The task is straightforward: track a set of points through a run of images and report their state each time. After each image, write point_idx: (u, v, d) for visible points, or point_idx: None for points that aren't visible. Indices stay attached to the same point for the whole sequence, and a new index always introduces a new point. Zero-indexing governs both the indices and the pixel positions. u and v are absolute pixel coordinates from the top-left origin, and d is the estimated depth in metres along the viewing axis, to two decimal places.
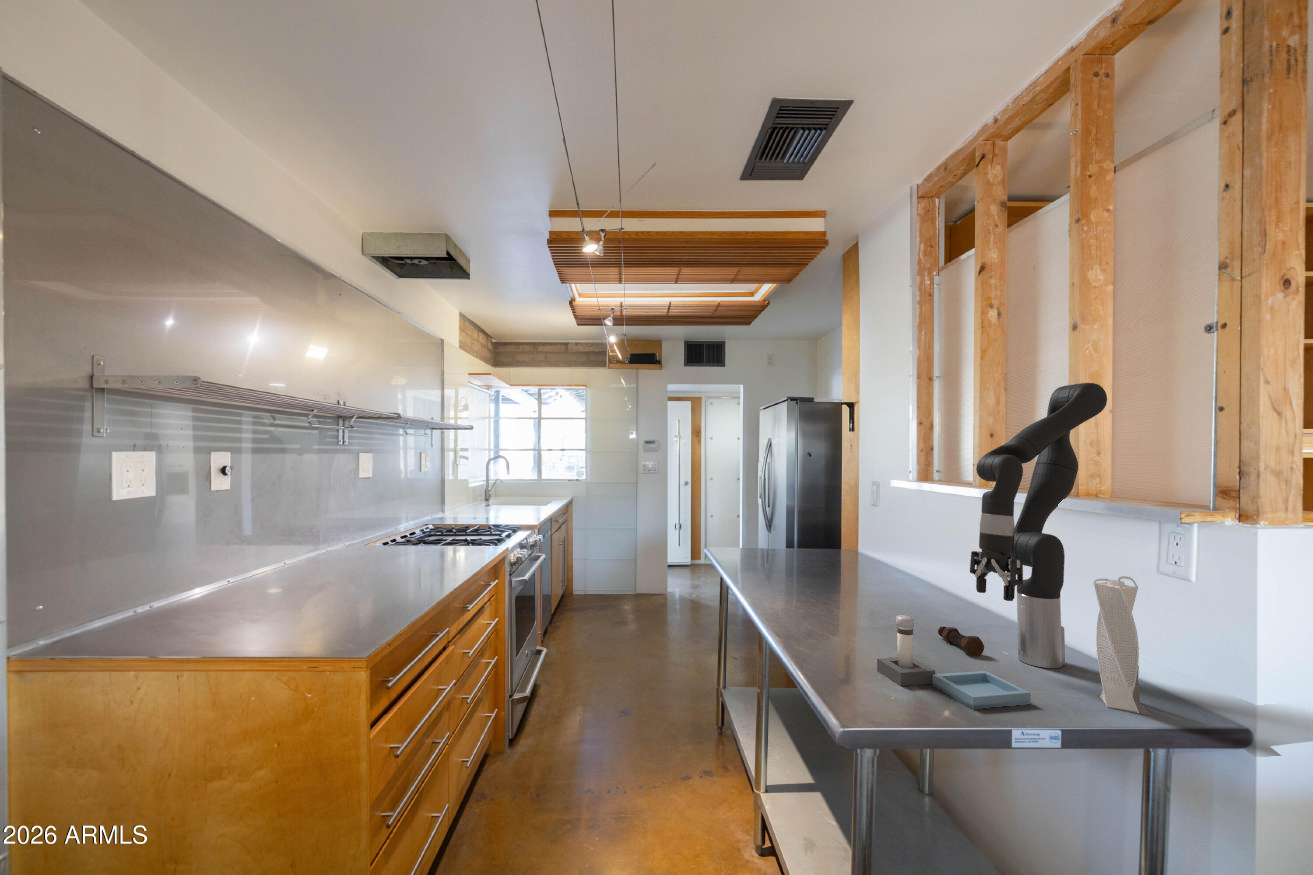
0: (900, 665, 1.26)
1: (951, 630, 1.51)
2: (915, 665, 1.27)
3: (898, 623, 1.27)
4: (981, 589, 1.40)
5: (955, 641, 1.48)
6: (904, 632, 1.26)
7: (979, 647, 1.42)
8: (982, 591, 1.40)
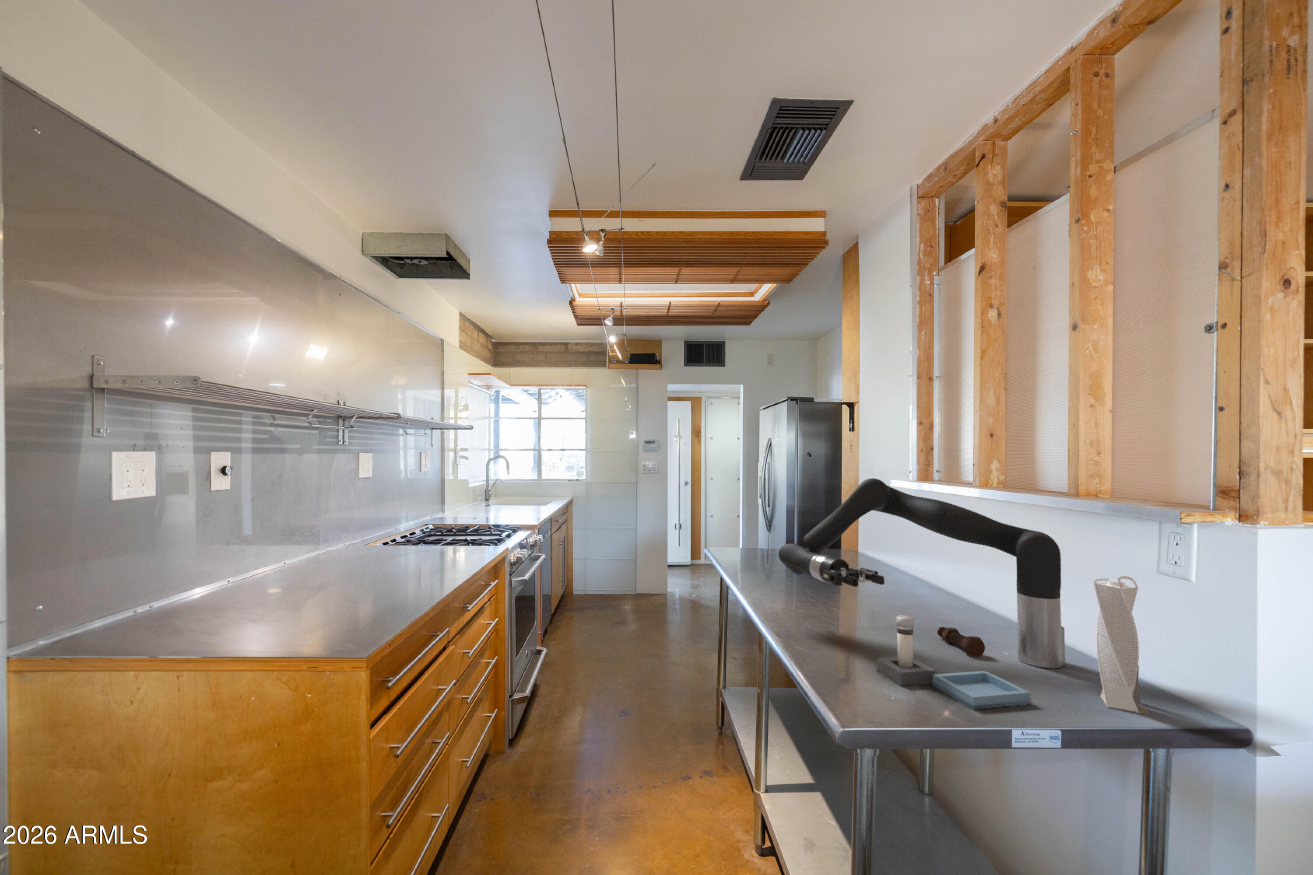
0: (900, 665, 1.26)
1: (951, 630, 1.51)
2: (915, 665, 1.27)
3: (898, 623, 1.27)
4: (879, 581, 1.40)
5: (955, 641, 1.48)
6: (904, 632, 1.26)
7: (980, 648, 1.42)
8: (881, 580, 1.40)
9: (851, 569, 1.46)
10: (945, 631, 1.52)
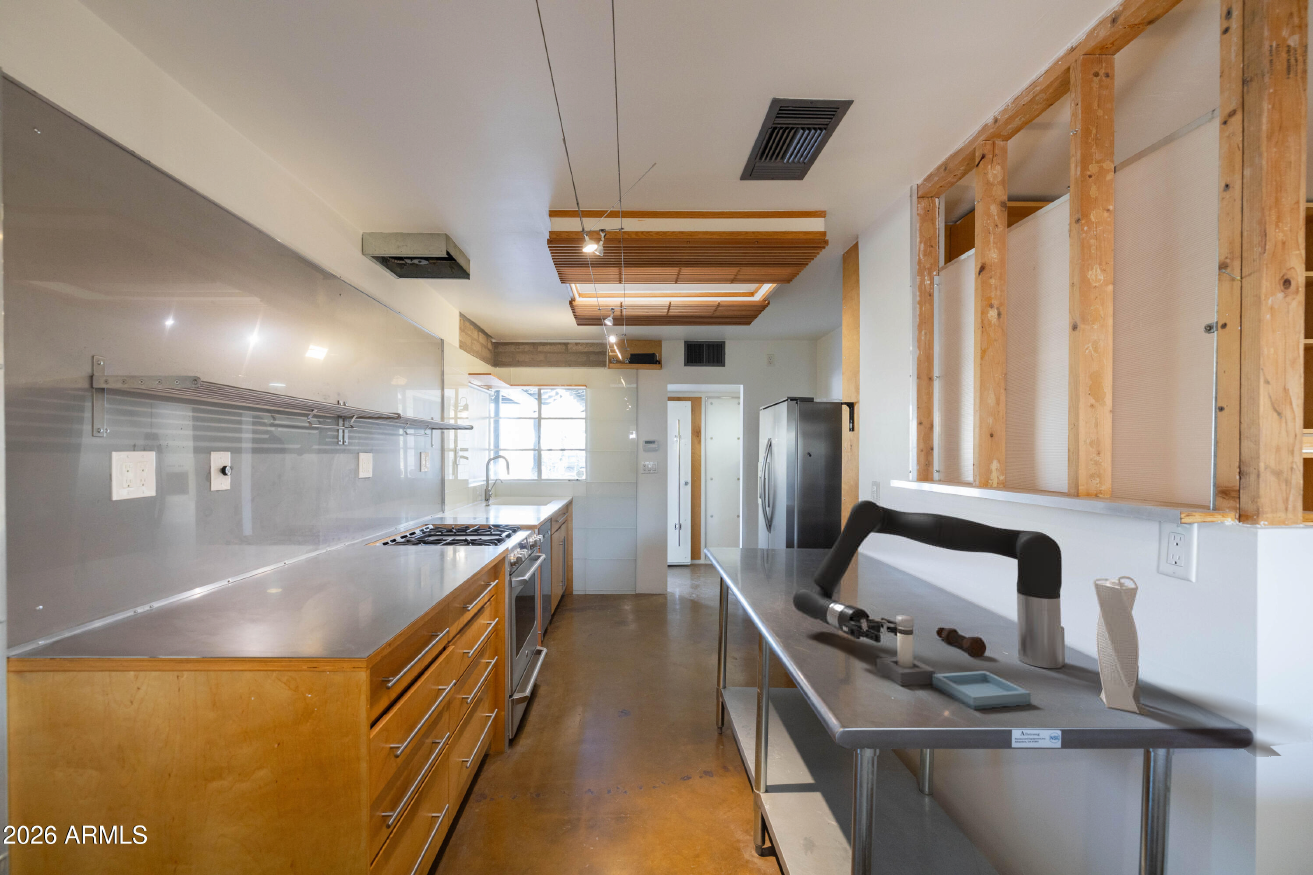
0: (900, 665, 1.26)
1: (951, 631, 1.51)
2: (915, 665, 1.27)
3: (898, 623, 1.27)
4: None
5: (956, 642, 1.47)
6: (904, 632, 1.26)
7: (982, 648, 1.41)
8: None
9: (872, 620, 1.39)
10: (945, 631, 1.51)
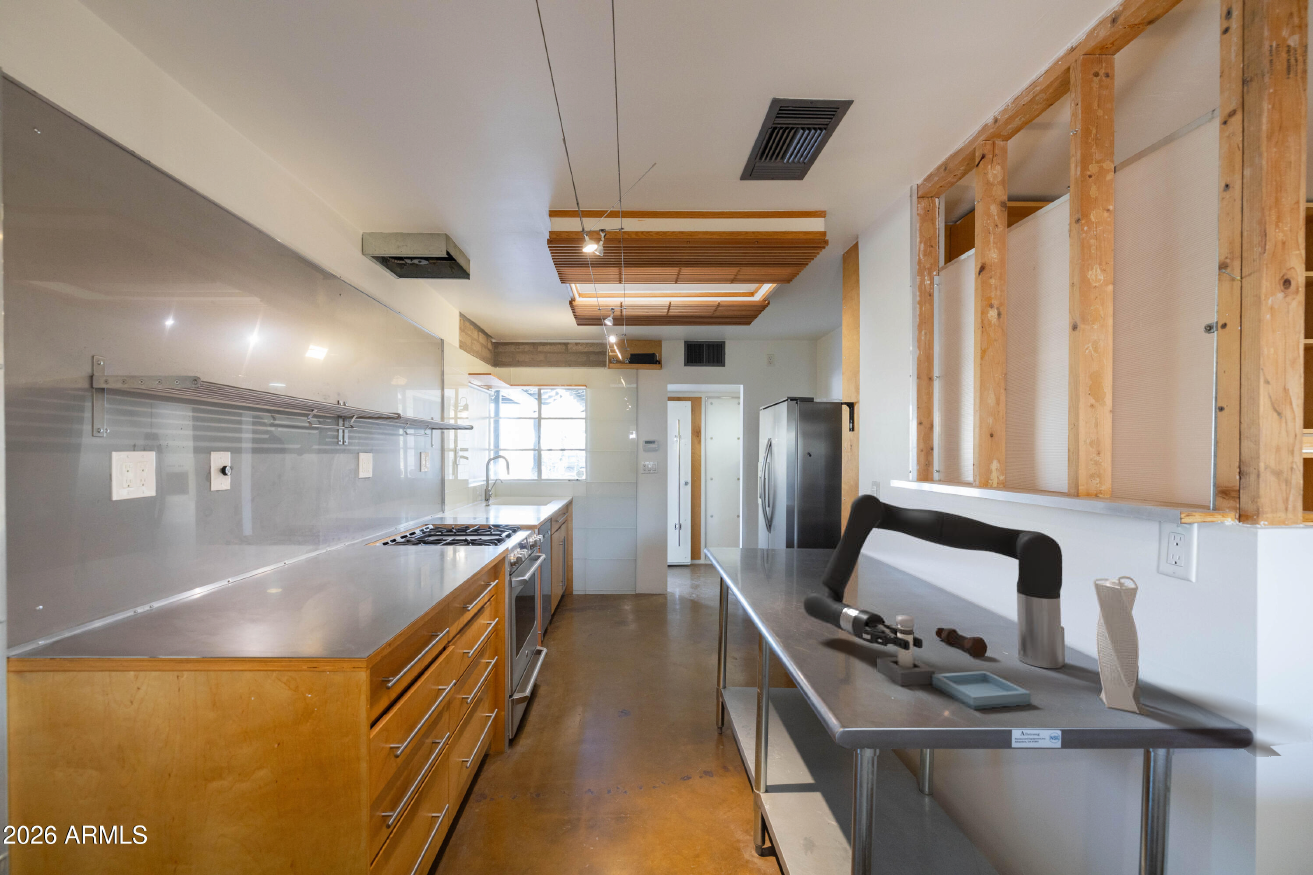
0: (900, 665, 1.26)
1: (951, 631, 1.50)
2: (915, 665, 1.27)
3: (898, 623, 1.27)
4: (917, 644, 1.26)
5: (956, 642, 1.47)
6: (904, 632, 1.26)
7: (983, 648, 1.41)
8: (919, 643, 1.26)
9: (886, 626, 1.34)
10: (945, 632, 1.51)
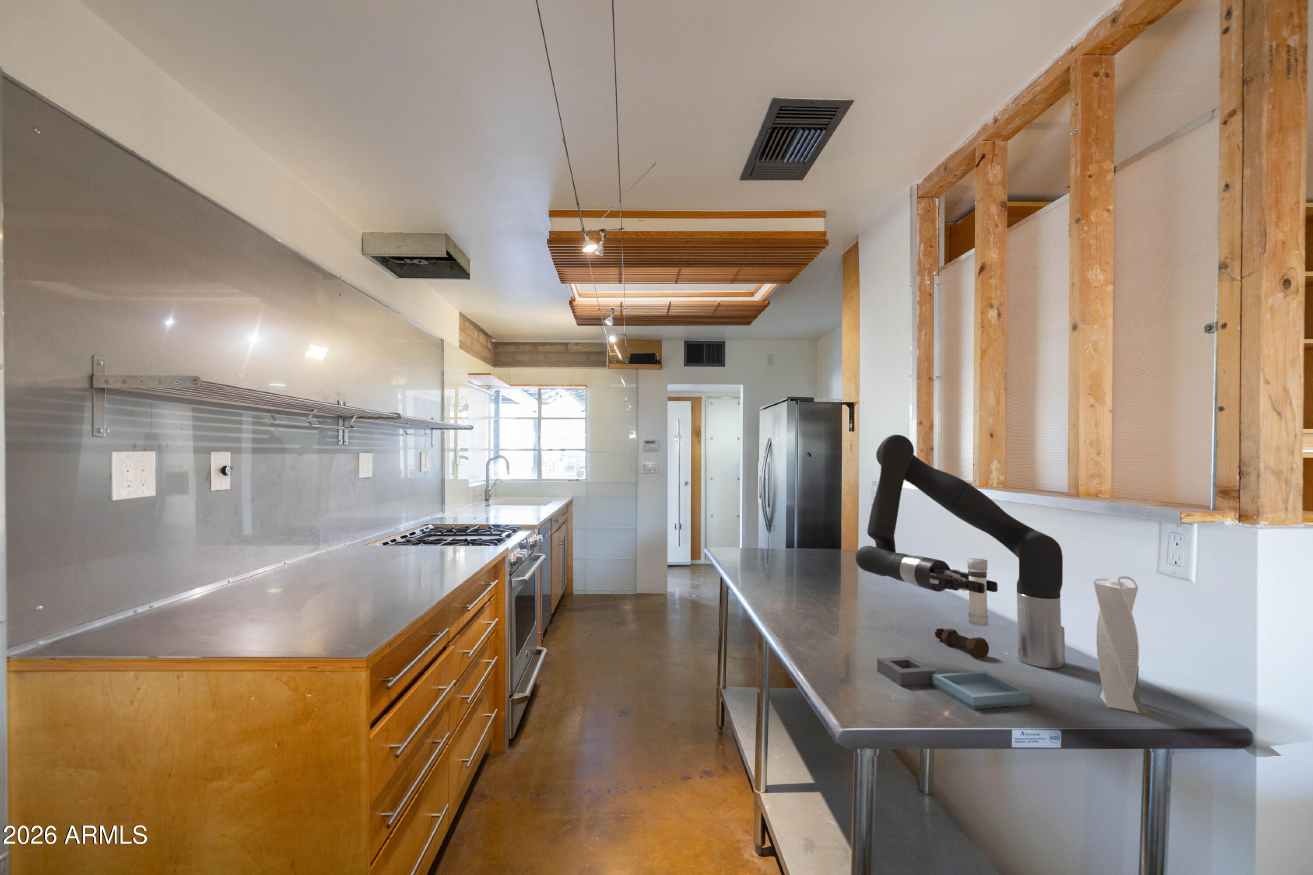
0: (972, 610, 1.18)
1: (951, 632, 1.50)
2: (915, 665, 1.27)
3: (970, 566, 1.18)
4: (991, 587, 1.17)
5: (958, 643, 1.46)
6: (977, 575, 1.17)
7: (985, 649, 1.41)
8: (993, 586, 1.17)
9: (954, 572, 1.25)
10: (945, 633, 1.50)
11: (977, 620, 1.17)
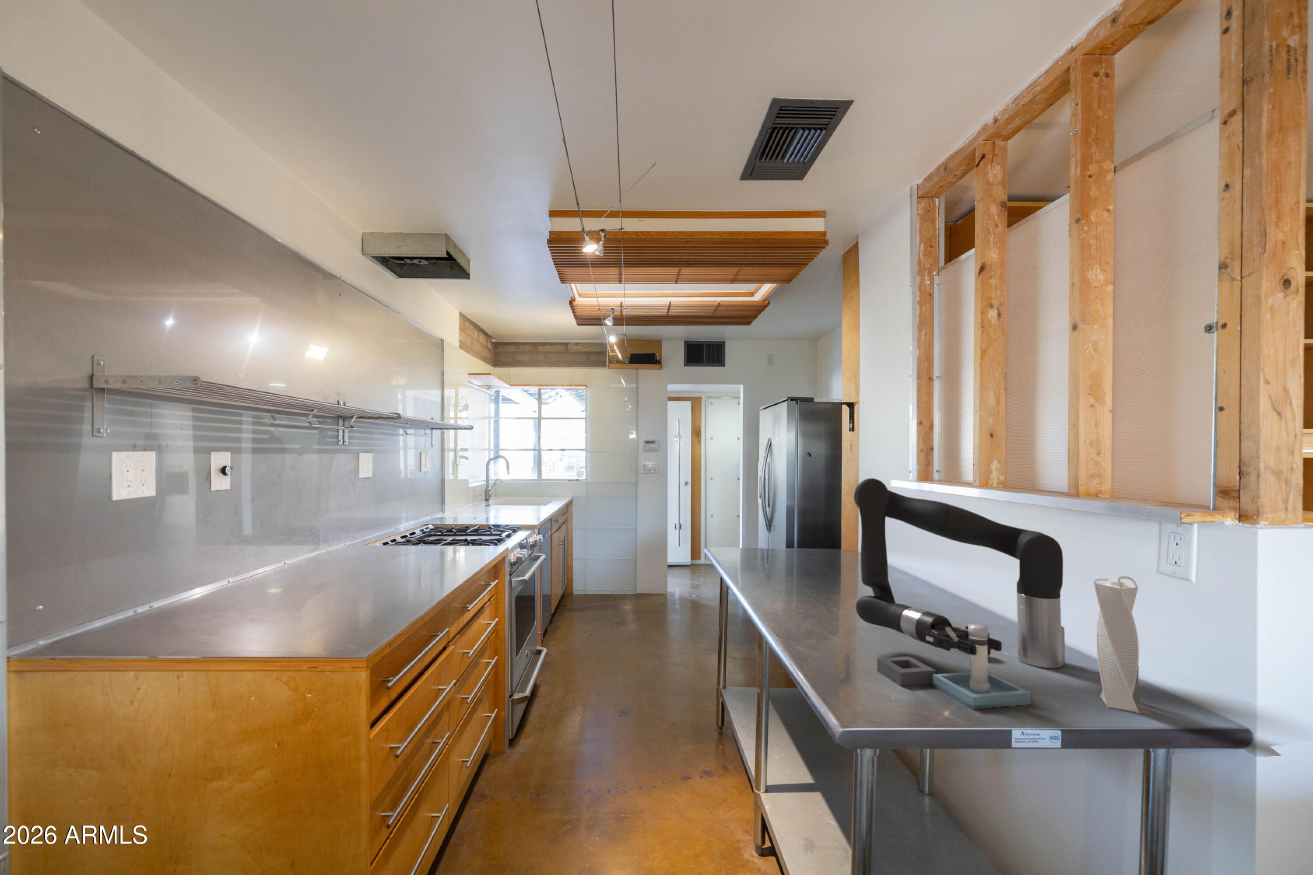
0: (974, 678, 1.17)
1: None
2: (915, 665, 1.27)
3: (971, 633, 1.18)
4: (995, 646, 1.18)
5: None
6: (978, 642, 1.17)
7: None
8: (998, 646, 1.18)
9: (956, 629, 1.25)
10: None
11: (978, 688, 1.16)
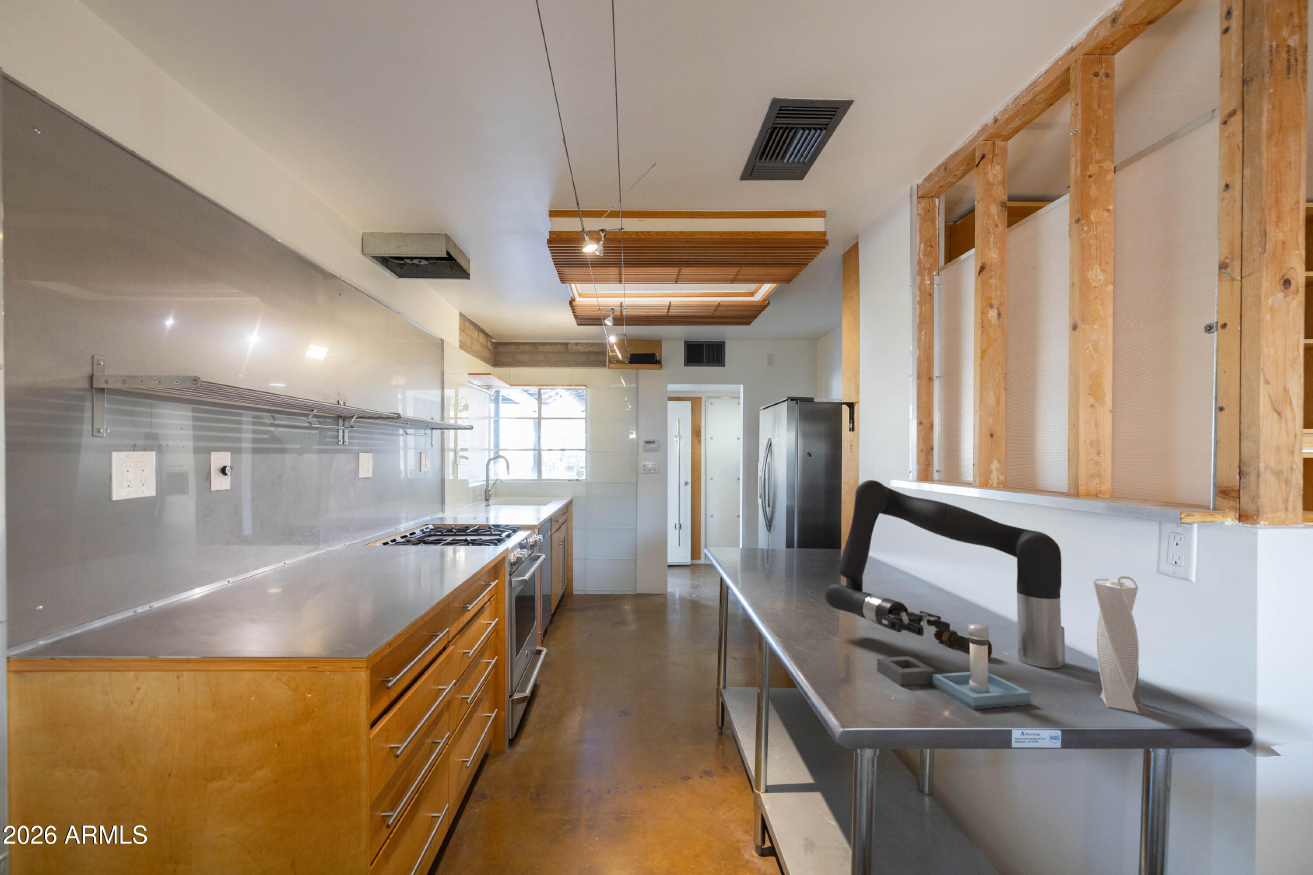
0: (974, 678, 1.17)
1: (952, 633, 1.49)
2: (915, 665, 1.27)
3: (971, 633, 1.18)
4: (945, 628, 1.31)
5: (960, 644, 1.45)
6: (978, 642, 1.17)
7: (989, 649, 1.40)
8: (946, 627, 1.30)
9: (911, 614, 1.37)
10: (946, 634, 1.49)
11: (978, 688, 1.16)
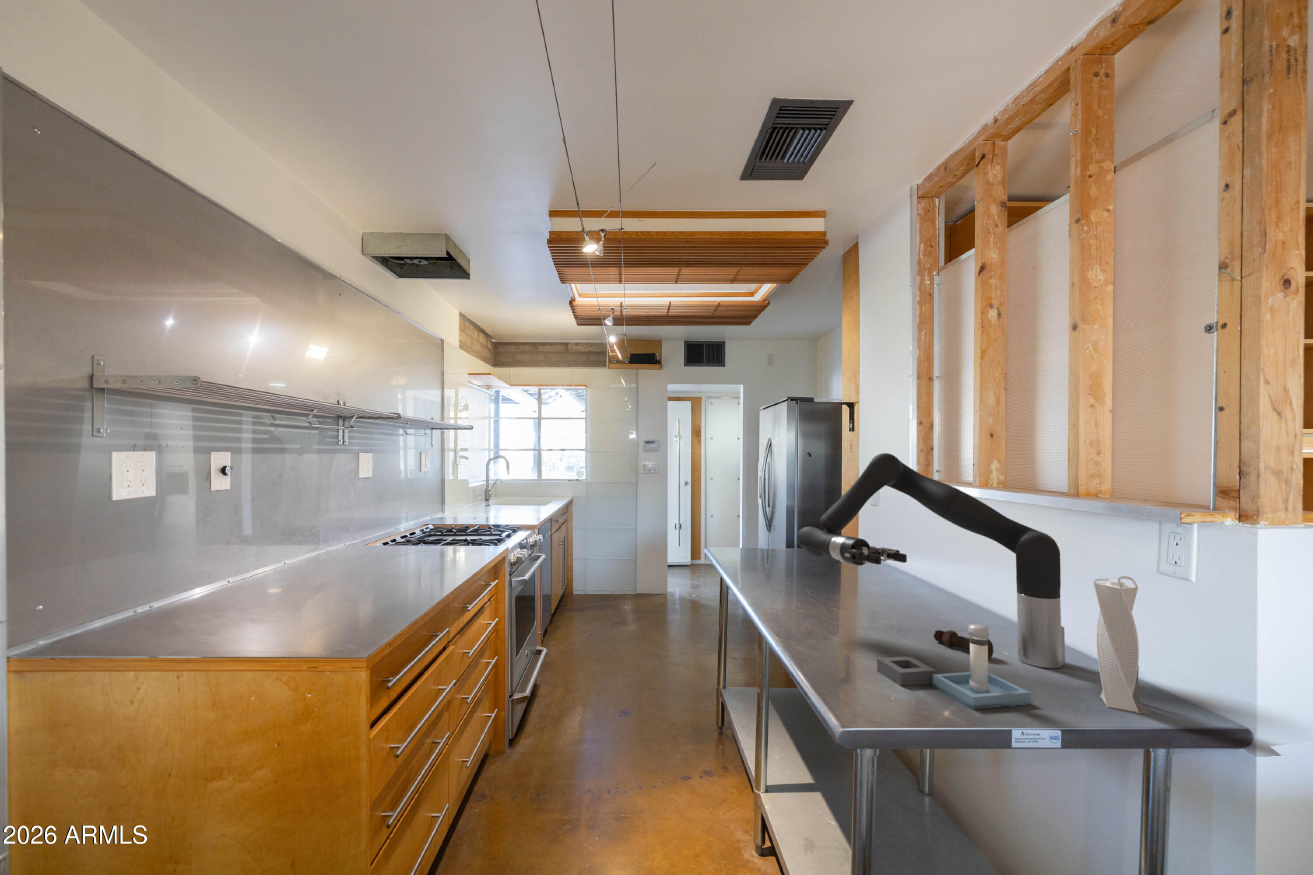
0: (974, 678, 1.17)
1: (952, 634, 1.48)
2: (915, 665, 1.27)
3: (971, 633, 1.18)
4: (902, 559, 1.40)
5: (961, 645, 1.45)
6: (979, 642, 1.17)
7: (990, 650, 1.40)
8: (903, 558, 1.40)
9: (872, 548, 1.46)
10: (946, 635, 1.49)
11: (978, 688, 1.16)
